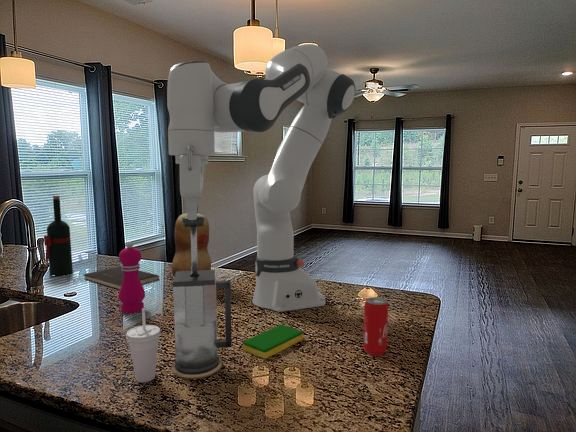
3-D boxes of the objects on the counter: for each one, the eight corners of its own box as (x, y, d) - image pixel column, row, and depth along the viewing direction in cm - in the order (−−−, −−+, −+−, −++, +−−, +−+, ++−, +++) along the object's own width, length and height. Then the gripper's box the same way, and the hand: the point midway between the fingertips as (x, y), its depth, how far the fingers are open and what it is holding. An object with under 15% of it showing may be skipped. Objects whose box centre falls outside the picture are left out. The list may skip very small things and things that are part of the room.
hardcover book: (120, 291, 140) (119, 284, 140) (83, 280, 154) (83, 274, 153) (159, 280, 153) (159, 274, 153) (122, 271, 167) (122, 265, 166)
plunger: (209, 281, 89) (208, 215, 87) (209, 289, 83) (208, 218, 81) (181, 282, 88) (178, 215, 86) (178, 291, 82) (176, 219, 80)
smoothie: (165, 369, 86) (163, 304, 85) (157, 385, 80) (154, 315, 78) (134, 369, 86) (131, 304, 84) (123, 386, 80) (119, 315, 78)
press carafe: (230, 352, 94) (229, 267, 92) (233, 375, 84) (231, 280, 81) (173, 357, 92) (170, 270, 89) (169, 381, 82) (165, 284, 79)
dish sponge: (242, 351, 96) (242, 341, 95) (281, 333, 106) (281, 323, 106) (264, 360, 91) (264, 350, 91) (303, 340, 102) (303, 331, 101)
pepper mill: (137, 315, 117) (133, 245, 114) (113, 313, 118) (110, 244, 116) (150, 306, 124) (147, 240, 121) (128, 305, 125) (125, 239, 123)
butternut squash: (192, 291, 139) (190, 216, 136) (164, 285, 146) (161, 214, 143) (219, 281, 151) (218, 212, 148) (192, 276, 158) (191, 210, 155)
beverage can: (370, 344, 98) (371, 295, 97) (390, 350, 95) (392, 300, 94) (359, 352, 94) (360, 301, 93) (380, 359, 91) (381, 306, 90)
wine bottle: (39, 276, 157) (33, 196, 154) (65, 270, 166) (60, 194, 162) (51, 278, 153) (45, 197, 150) (77, 272, 162) (72, 195, 158)
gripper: (207, 144, 72) (209, 223, 74) (208, 148, 92) (209, 210, 94) (170, 143, 71) (172, 224, 73) (178, 148, 91) (180, 210, 93)
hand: (193, 216), depth 84 cm, fingers open, 8 cm apart
